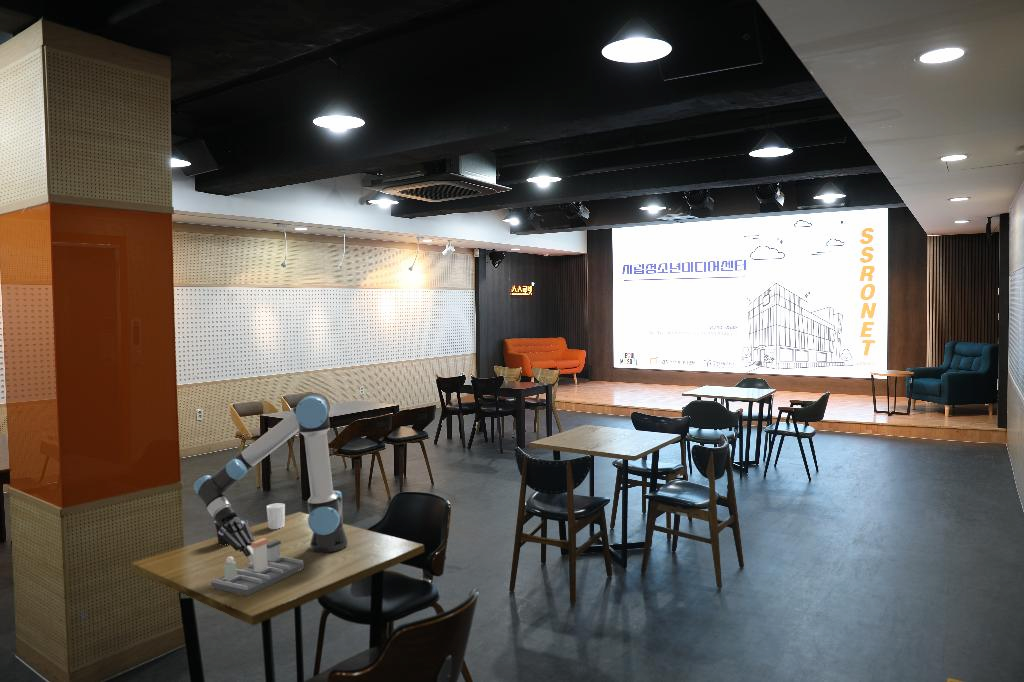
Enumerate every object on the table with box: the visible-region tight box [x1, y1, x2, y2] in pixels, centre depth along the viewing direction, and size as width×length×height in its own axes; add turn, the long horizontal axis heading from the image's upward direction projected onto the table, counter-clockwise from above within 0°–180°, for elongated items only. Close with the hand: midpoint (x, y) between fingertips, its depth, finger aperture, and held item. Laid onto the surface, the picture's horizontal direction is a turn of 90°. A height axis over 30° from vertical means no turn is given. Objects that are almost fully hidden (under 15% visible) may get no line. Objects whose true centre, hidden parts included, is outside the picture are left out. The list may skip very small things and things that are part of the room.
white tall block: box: [251, 537, 270, 574], centre depth 253 cm, size 4×6×12 cm
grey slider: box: [267, 539, 282, 563], centre depth 264 cm, size 4×6×7 cm
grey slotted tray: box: [210, 555, 305, 597], centre depth 254 cm, size 18×27×3 cm, turn 153°
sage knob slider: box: [221, 555, 241, 582], centre depth 246 cm, size 4×5×8 cm
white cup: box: [266, 502, 286, 530], centre depth 314 cm, size 8×8×10 cm
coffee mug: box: [214, 520, 229, 546], centre depth 295 cm, size 12×9×10 cm
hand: (256, 561), depth 254 cm, fingers closed
